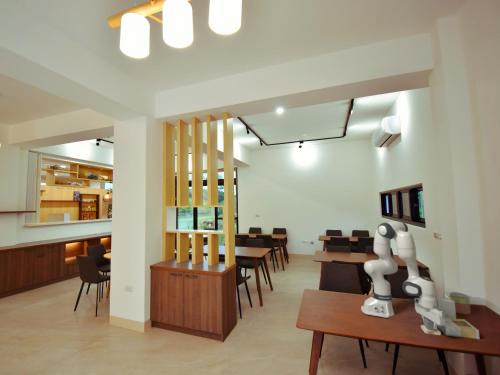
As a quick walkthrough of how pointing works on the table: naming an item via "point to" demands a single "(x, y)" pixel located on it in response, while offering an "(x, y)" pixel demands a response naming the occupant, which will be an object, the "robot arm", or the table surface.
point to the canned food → (461, 302)
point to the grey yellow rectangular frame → (459, 328)
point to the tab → (430, 331)
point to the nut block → (428, 324)
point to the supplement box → (447, 307)
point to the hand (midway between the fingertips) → (430, 325)
